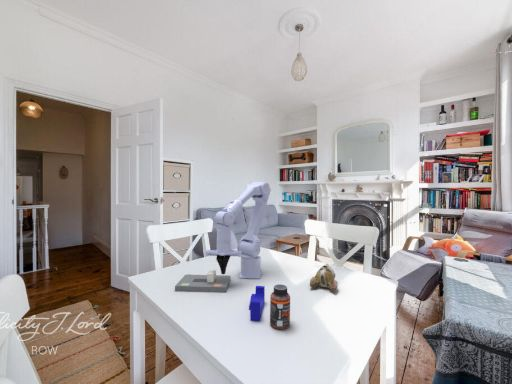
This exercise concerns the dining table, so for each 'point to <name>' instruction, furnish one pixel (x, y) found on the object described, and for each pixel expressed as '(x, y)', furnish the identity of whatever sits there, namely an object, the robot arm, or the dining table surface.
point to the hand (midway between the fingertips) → (223, 273)
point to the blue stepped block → (257, 303)
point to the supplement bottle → (280, 307)
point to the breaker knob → (211, 275)
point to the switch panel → (203, 283)
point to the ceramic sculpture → (324, 278)
